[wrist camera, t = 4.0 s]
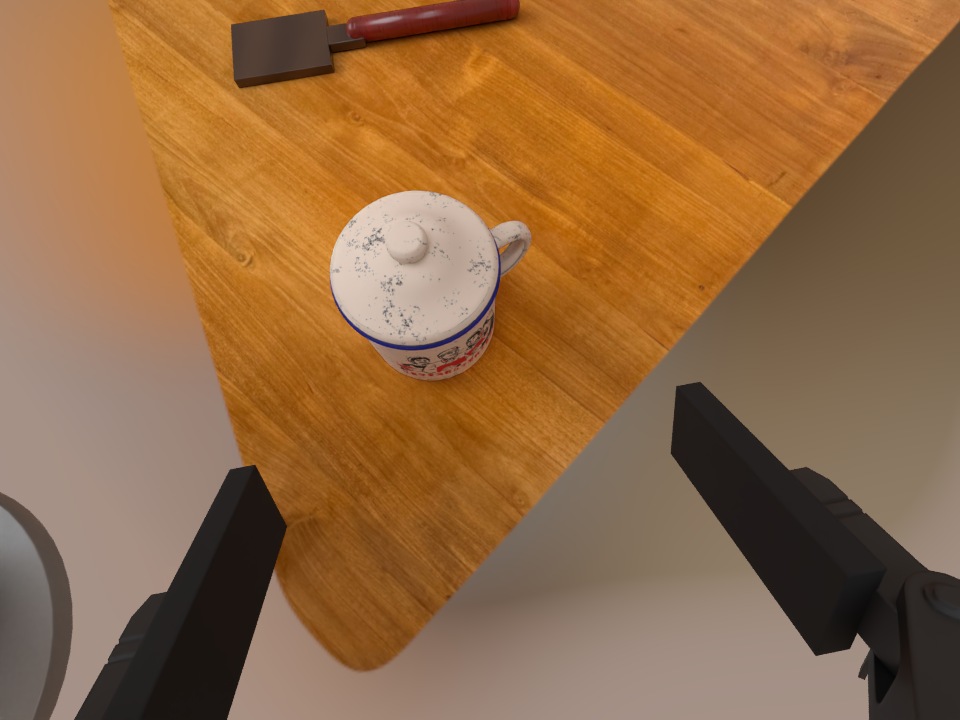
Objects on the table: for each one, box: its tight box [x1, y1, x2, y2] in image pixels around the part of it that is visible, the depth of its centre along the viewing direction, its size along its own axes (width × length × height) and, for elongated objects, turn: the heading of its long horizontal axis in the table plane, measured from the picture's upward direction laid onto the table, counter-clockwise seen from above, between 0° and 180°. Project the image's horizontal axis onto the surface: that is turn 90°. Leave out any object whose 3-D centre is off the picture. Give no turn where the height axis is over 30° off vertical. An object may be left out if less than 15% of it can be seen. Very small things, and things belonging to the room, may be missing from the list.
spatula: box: [231, 0, 520, 88], centre depth 39 cm, size 24×6×2 cm, turn 101°
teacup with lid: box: [330, 191, 531, 380], centre depth 27 cm, size 12×9×12 cm
